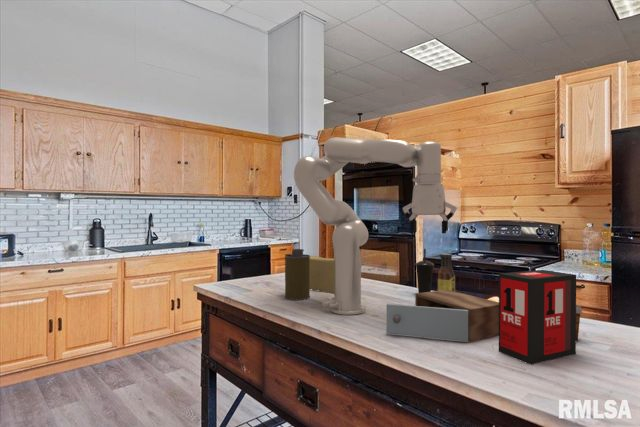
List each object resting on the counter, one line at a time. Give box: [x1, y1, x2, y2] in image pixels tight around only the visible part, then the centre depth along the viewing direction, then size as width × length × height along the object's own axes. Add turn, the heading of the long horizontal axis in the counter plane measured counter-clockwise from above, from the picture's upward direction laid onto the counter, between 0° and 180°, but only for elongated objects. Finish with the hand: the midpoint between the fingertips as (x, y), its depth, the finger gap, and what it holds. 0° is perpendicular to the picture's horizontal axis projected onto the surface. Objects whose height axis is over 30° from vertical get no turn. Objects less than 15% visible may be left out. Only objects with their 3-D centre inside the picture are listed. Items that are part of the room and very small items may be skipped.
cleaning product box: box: [498, 269, 577, 365], centre depth 95 cm, size 16×9×20 cm, turn 114°
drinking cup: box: [415, 248, 435, 293], centre depth 159 cm, size 8×8×20 cm
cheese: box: [309, 255, 335, 294], centre depth 169 cm, size 22×10×15 cm, turn 48°
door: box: [385, 303, 468, 343], centre depth 105 cm, size 3×22×8 cm, turn 72°
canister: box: [284, 248, 311, 301], centre depth 155 cm, size 11×10×20 cm
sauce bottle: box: [437, 253, 456, 292], centre depth 141 cm, size 7×6×20 cm
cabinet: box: [414, 290, 499, 343], centre depth 115 cm, size 14×22×9 cm, turn 27°
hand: (428, 232), depth 122 cm, fingers open, 9 cm apart
